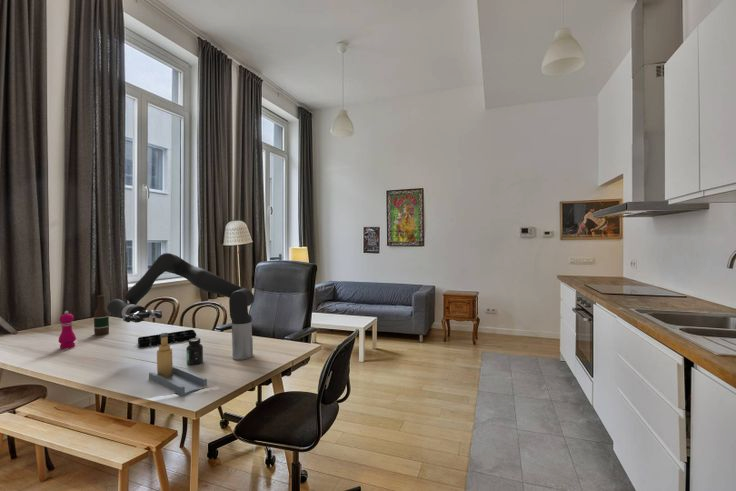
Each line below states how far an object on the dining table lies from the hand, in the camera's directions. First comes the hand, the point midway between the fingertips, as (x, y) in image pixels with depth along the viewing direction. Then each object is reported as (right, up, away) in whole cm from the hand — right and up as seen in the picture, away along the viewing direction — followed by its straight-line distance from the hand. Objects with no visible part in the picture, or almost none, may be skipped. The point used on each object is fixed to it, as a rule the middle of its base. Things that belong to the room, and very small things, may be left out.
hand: (150, 317), depth 155 cm
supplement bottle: (+15, -24, +9) cm, 30 cm away
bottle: (+10, -23, -7) cm, 26 cm away
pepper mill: (-69, -24, +39) cm, 83 cm away
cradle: (+18, -24, -12) cm, 33 cm away
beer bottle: (-70, -24, +66) cm, 99 cm away
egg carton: (-20, -24, +49) cm, 58 cm away
